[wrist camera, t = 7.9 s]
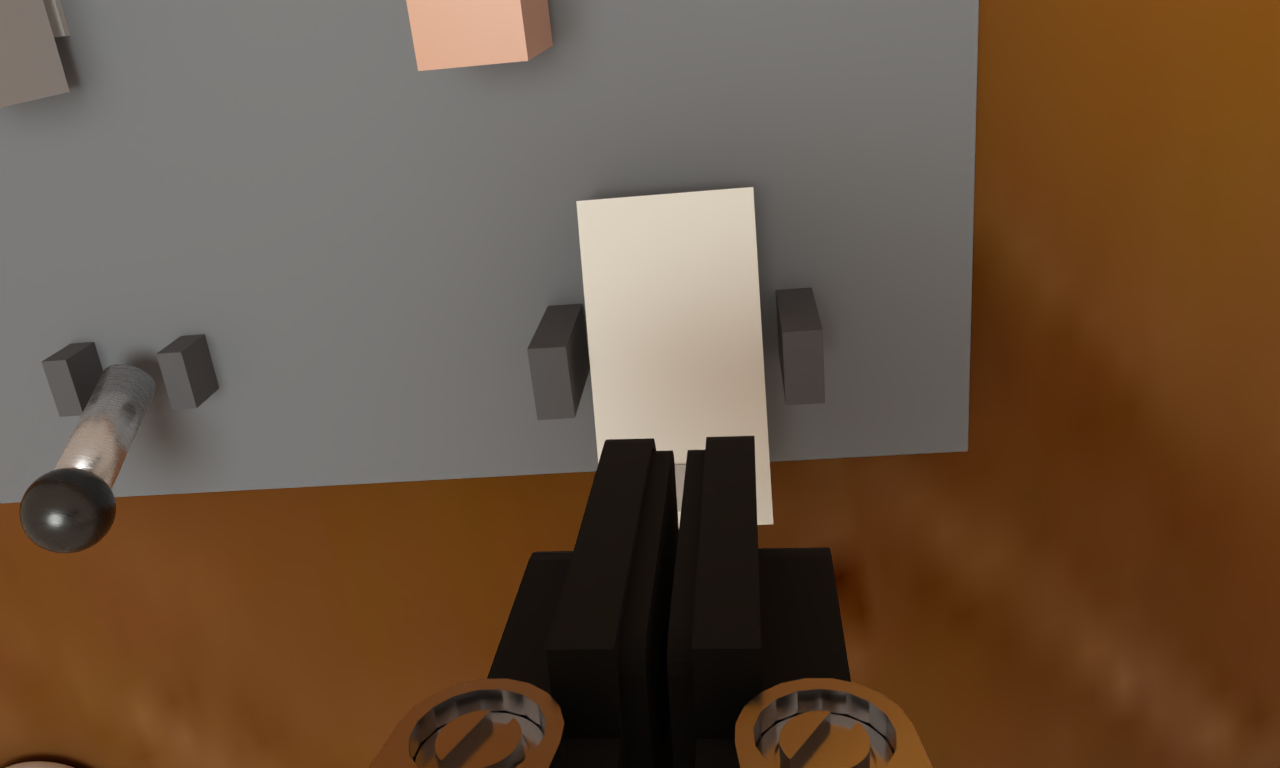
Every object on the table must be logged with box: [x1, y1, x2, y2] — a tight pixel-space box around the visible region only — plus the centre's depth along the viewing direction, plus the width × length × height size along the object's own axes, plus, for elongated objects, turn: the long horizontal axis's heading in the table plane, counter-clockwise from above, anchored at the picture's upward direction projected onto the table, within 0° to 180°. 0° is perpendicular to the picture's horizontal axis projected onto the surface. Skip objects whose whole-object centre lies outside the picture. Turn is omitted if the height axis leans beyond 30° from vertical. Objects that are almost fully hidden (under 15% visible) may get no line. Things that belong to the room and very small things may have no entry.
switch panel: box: [0, 0, 979, 503], centre depth 23 cm, size 25×15×5 cm, turn 95°
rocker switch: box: [576, 187, 773, 526], centre depth 22 cm, size 4×7×1 cm, turn 6°
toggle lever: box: [19, 364, 156, 553], centre depth 23 cm, size 2×2×5 cm
